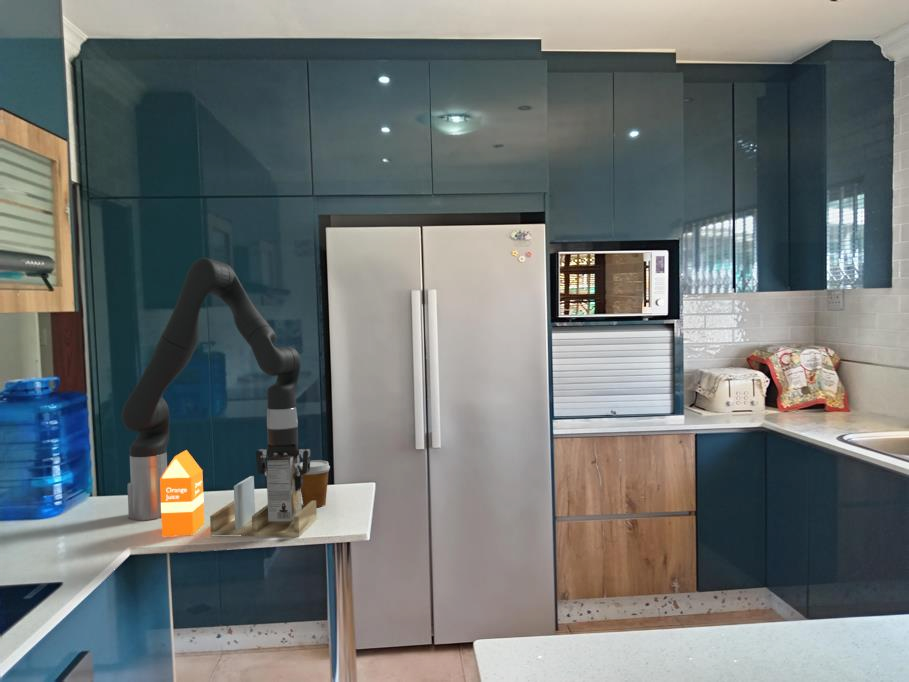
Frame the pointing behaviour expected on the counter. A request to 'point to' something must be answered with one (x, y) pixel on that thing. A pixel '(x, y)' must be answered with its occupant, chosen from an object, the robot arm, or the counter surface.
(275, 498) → the coffee box
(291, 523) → the rack
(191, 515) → the orange juice
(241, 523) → the pale grey flat panel
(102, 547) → the counter surface
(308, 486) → the disposable coffee cup
